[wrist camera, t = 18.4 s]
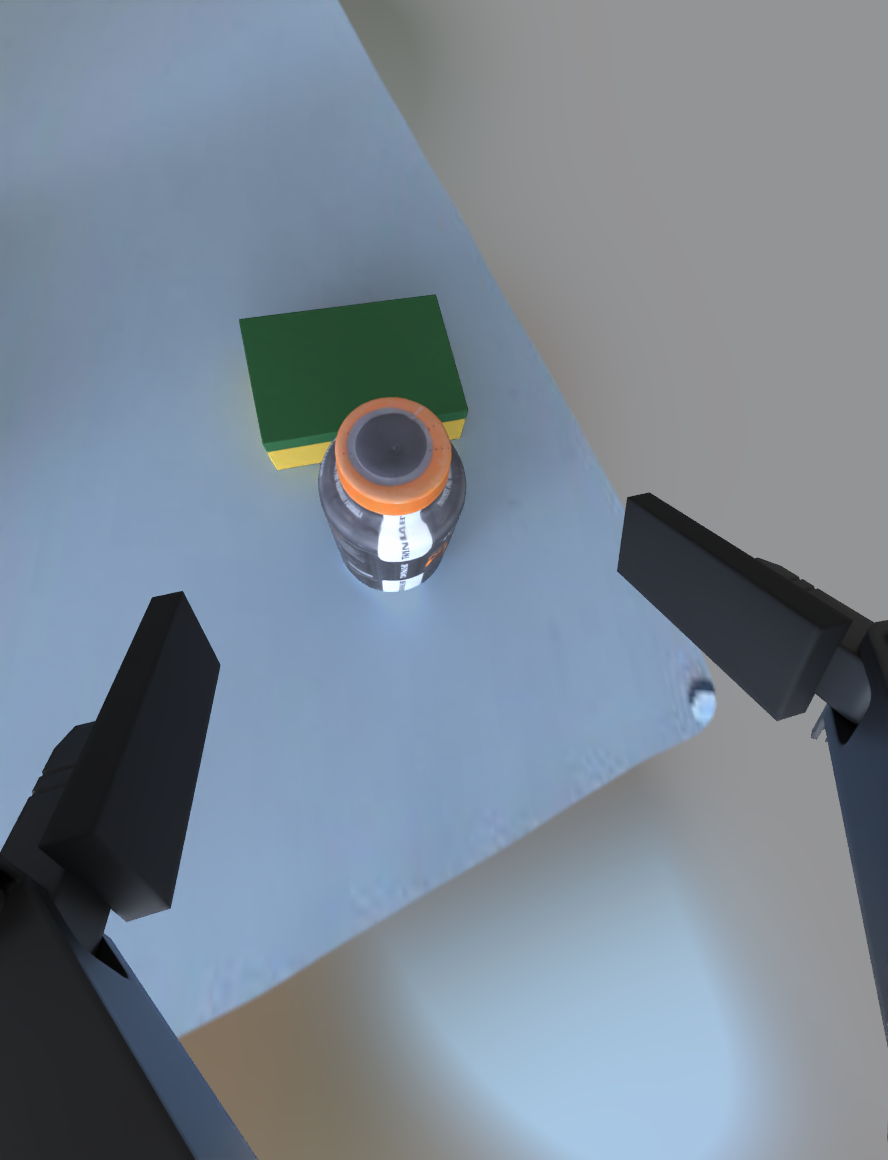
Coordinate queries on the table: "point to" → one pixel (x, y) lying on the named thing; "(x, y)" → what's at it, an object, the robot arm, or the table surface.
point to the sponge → (346, 371)
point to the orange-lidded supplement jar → (392, 492)
